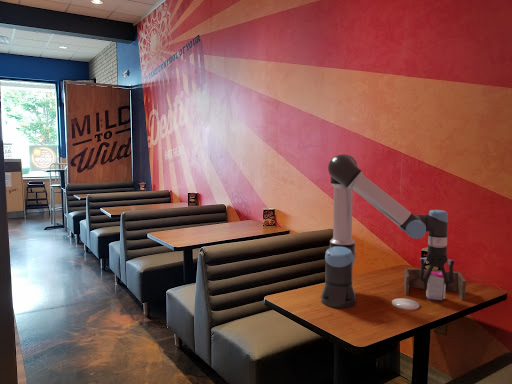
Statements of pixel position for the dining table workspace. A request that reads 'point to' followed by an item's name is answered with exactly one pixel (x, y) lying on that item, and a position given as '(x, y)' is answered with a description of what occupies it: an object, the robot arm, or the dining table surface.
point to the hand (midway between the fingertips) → (435, 296)
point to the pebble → (405, 304)
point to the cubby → (414, 280)
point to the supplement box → (436, 286)
